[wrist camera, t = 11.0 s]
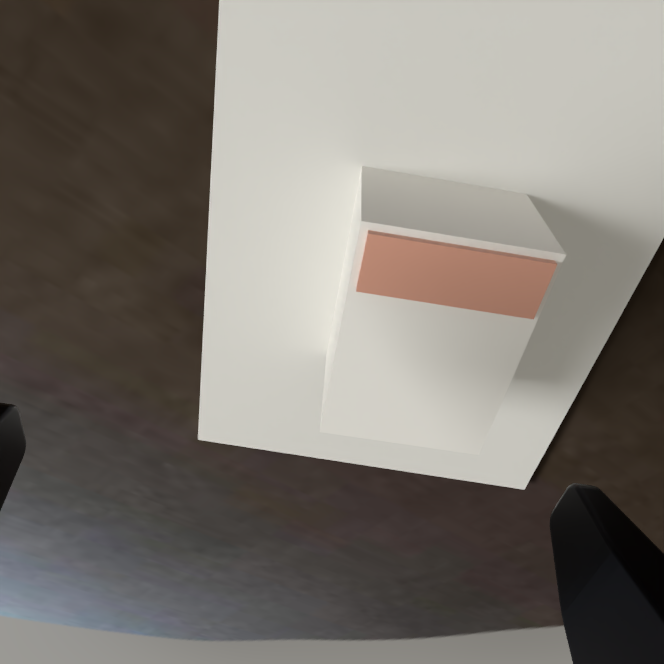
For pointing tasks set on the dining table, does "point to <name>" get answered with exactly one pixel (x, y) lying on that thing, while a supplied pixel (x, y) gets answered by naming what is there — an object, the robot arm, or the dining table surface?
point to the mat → (428, 161)
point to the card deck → (433, 309)
